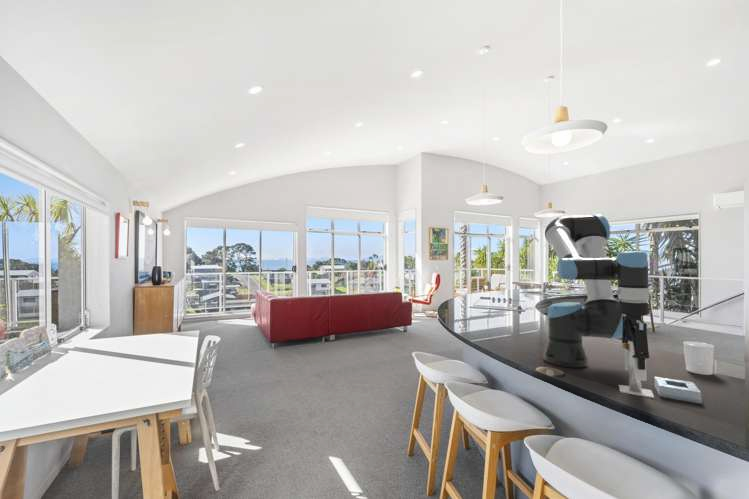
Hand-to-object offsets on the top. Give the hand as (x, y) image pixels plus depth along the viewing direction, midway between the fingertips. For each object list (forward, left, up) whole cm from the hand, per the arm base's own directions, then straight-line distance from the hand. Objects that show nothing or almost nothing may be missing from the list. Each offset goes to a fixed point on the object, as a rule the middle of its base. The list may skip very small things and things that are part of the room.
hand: (635, 374), depth 100 cm
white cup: (+21, +35, -6) cm, 41 cm away
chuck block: (+10, +4, -5) cm, 12 cm away
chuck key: (0, 0, -5) cm, 5 cm away
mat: (0, 0, -5) cm, 5 cm away
